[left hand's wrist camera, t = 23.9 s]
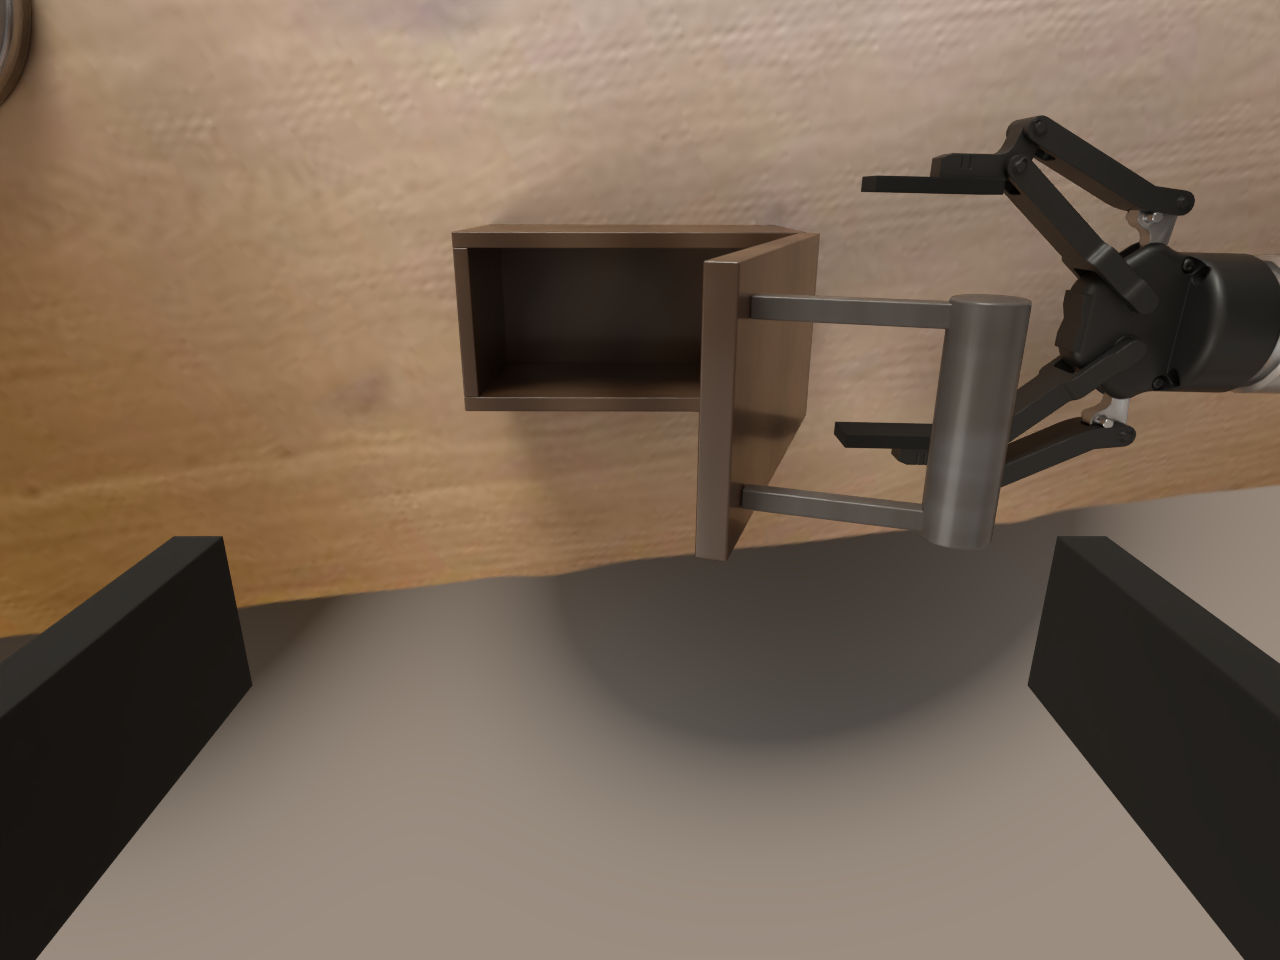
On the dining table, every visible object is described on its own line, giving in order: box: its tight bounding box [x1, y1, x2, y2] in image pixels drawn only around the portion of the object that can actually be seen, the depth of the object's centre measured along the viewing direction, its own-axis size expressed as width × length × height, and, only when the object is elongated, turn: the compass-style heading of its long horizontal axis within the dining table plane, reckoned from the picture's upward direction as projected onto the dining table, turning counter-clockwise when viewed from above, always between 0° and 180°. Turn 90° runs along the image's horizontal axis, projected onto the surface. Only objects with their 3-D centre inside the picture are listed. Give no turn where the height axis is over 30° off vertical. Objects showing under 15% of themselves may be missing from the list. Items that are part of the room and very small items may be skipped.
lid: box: [695, 233, 1032, 562], centre depth 30 cm, size 18×9×9 cm
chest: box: [452, 225, 805, 411], centre depth 45 cm, size 18×9×10 cm, turn 90°
